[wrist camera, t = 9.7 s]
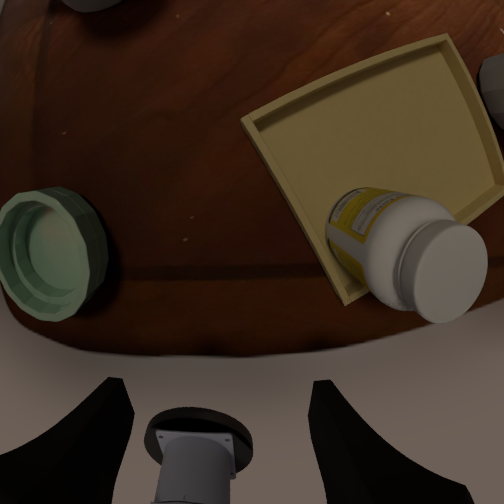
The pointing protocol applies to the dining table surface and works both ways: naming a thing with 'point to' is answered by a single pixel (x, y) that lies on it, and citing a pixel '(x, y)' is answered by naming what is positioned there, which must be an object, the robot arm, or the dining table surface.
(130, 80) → the dining table surface
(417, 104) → the enamel tray
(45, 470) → the robot arm
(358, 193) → the supplement bottle
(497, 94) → the water bottle
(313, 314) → the dining table surface
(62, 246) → the celadon dish
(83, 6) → the cup
